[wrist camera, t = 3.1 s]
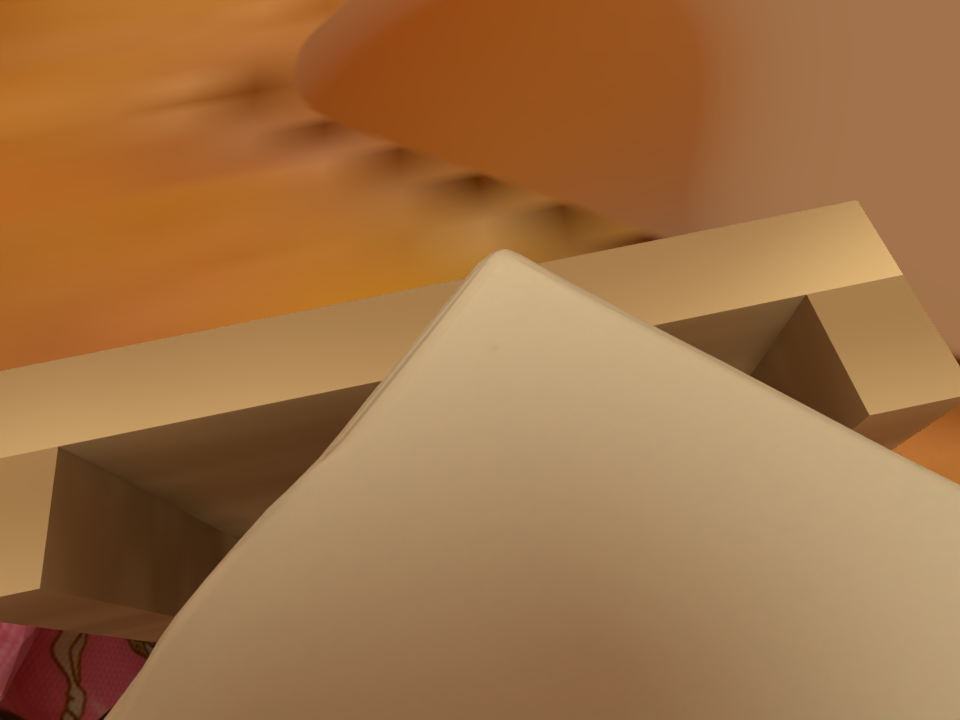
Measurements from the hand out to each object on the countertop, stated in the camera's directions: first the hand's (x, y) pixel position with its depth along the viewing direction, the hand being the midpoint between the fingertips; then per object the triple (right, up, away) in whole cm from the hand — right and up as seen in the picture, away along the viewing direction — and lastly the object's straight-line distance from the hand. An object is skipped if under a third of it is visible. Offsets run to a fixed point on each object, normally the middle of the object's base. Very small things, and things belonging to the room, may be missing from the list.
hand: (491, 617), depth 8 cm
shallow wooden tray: (0, -1, +7) cm, 7 cm away
